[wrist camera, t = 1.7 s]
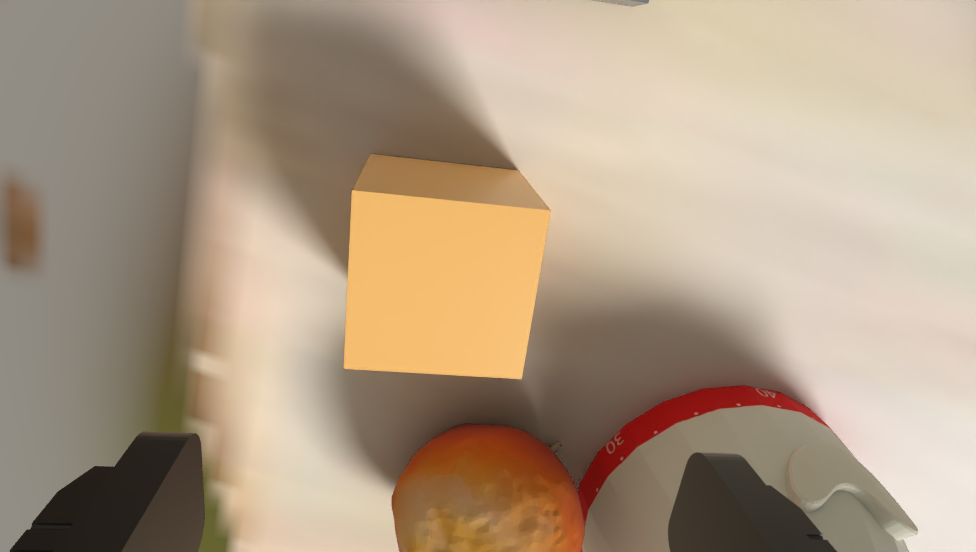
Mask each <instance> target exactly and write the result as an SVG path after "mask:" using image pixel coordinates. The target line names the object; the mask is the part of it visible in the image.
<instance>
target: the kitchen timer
mask: <svg viewBox="0 0 976 552" xmlns="http://www.w3.org/2000/svg"><path fill="white" fill-rule="evenodd" d="M696 452H701V453H730V454H739V455H741V456H742V457H744V458H745V460H746V461H747V462H748V463H749V464H750V466H751V467H752V468H753V469H754V471H755V472H756V473H757V474H758V475H759V477H760V478H761V479H762V480H763V482H764V483H765V484H766V485H771V486H772V487H773V488H775V489H776V490H777V491H779V492H780V493H781V494H783V495H784V496H785V497H787V498H788V499H789V500H791V501H792V502H793V503H795V504H796V505H797V506H798V507H800V508H801V509H802V510H803V512H804V513H805V514H806V515H807V516H808V518H809V519H810V520H811V521H812V522H813V524H814V525H815V526H816V527H817V528H818V530H819V531H820V532H821V533H822V534H823V536H822V537H823V539H824V540H828V541H829V543H830V544H831V545H832V546H833V547H834V549H835V550H836V551H837V552H909V551H908V548H907V546H906V544H905V542H904V540H903V539H905V538H908V537H911V536H914V535H916V534H918V529H917V527H916V526H915V524H914V523H913V522H912V520H911V519H910V518H909V517H908V515H907V514H906V513H905V512H904V510H903V509H902V508H901V507H900V505H899V504H898V503H897V502H896V501H895V499H894V498H893V497H892V496H891V495H890V493H889V492H888V491H887V490H886V489H885V488H884V487H883V485H882V484H881V483H880V482H879V481H878V480H877V479H876V478H875V477H874V476H873V475H872V474H871V473H870V472H869V471H868V470H867V469H866V468H865V467H864V466H863V465H862V464H861V463H860V462H858V460H857V459H856V458H855V457H854V456H853V454H852V453H851V452H850V451H849V450H848V448H847V447H846V446H845V445H844V444H843V442H842V441H841V440H840V439H839V438H838V436H837V435H836V434H835V433H834V432H833V431H832V429H831V428H830V427H829V426H827V425H826V424H825V423H824V422H823V421H822V420H821V419H820V418H819V417H818V416H817V415H816V414H814V413H813V412H812V411H811V410H810V409H809V408H807V407H806V406H804V405H802V404H800V403H798V402H796V401H795V400H793V399H791V398H789V397H787V396H785V395H784V394H782V393H780V392H775V391H770V390H765V389H759V388H754V387H748V386H731V387H720V388H708V389H701V390H698V391H695V392H692V393H689V394H686V395H683V396H680V397H677V398H674V399H671V400H668V401H665V402H662V403H660V404H659V405H657V406H656V407H654V408H652V409H651V410H649V411H648V412H646V413H644V414H643V415H641V416H639V417H638V418H636V419H635V420H633V421H631V422H630V423H628V424H626V425H625V426H624V427H623V428H622V429H621V430H620V431H619V432H618V433H617V434H616V435H615V436H614V437H613V438H612V439H611V440H610V441H609V442H608V443H607V444H606V445H605V446H604V447H603V448H602V449H601V450H600V451H599V452H598V454H597V455H596V457H595V459H594V461H593V462H592V464H591V466H590V468H589V469H588V471H587V473H586V475H585V477H584V478H583V480H582V482H581V484H580V486H579V491H578V495H579V500H580V504H581V509H582V513H583V518H584V524H585V536H584V540H583V545H582V549H581V552H670V548H669V542H668V524H669V519H670V516H671V513H672V509H673V506H674V503H675V500H676V496H677V493H678V490H679V486H680V483H681V480H682V477H683V473H684V470H685V467H686V464H687V461H688V459H689V457H690V456H691V455H692V454H693V453H696Z"/></svg>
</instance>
